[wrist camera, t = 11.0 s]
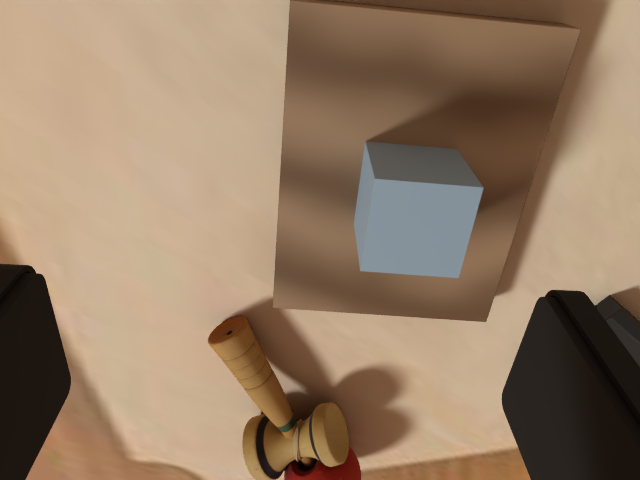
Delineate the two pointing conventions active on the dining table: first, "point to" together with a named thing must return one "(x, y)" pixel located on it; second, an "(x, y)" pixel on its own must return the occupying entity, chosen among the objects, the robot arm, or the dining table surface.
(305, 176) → the board
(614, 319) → the vhs tape
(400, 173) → the cube
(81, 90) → the dining table surface
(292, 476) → the kendama
